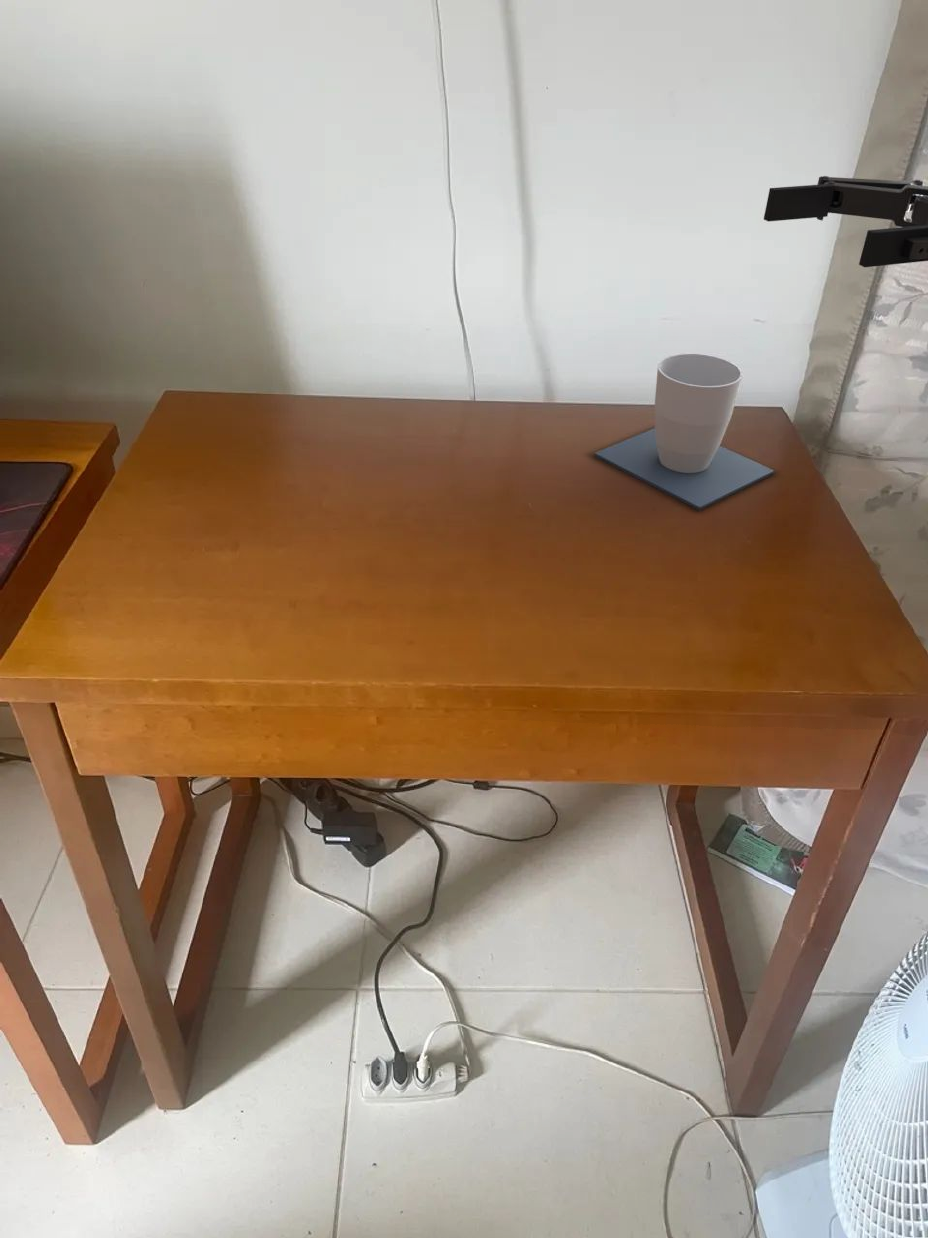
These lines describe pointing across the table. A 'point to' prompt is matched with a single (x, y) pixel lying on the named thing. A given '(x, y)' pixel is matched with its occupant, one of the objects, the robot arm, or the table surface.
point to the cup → (693, 408)
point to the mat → (690, 488)
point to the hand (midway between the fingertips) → (814, 225)
